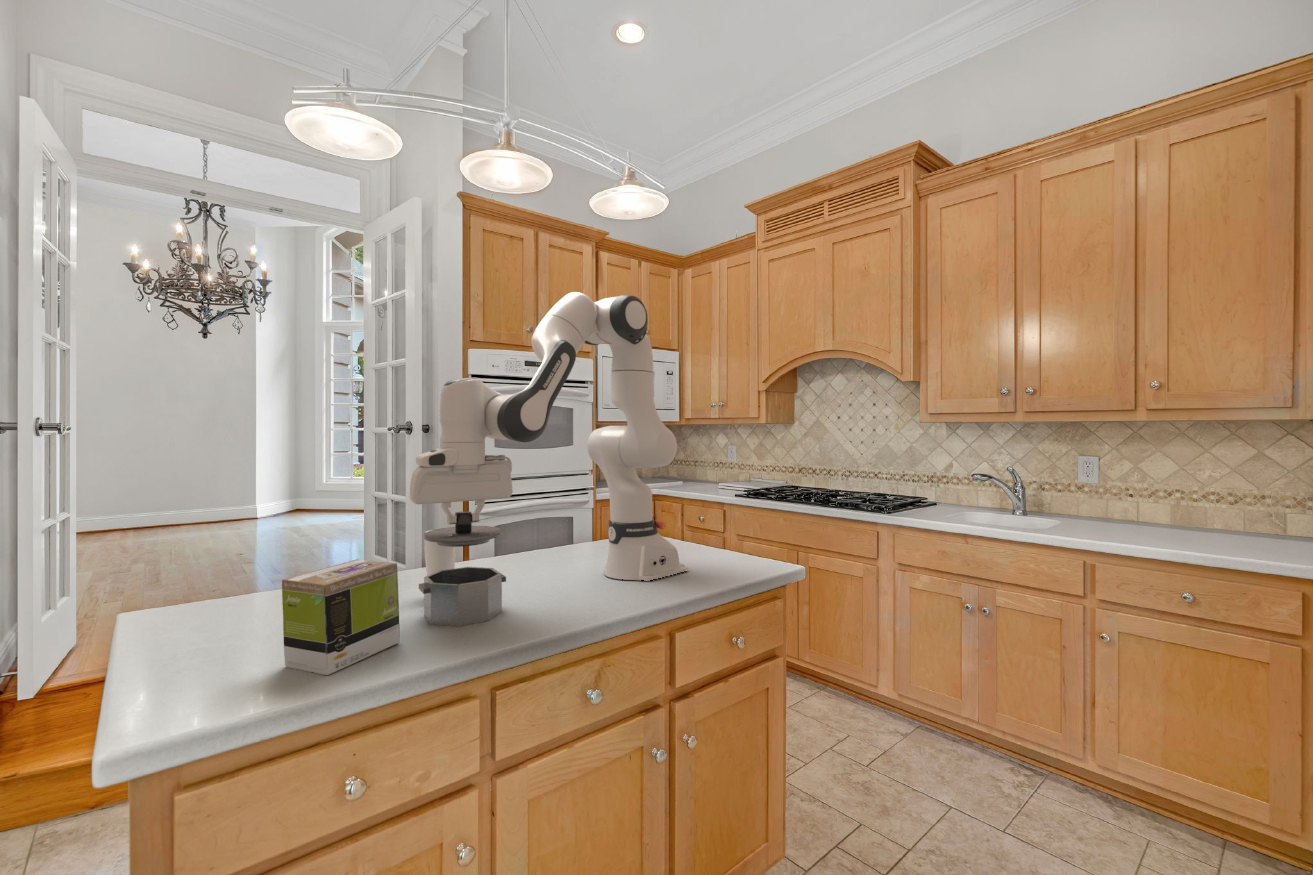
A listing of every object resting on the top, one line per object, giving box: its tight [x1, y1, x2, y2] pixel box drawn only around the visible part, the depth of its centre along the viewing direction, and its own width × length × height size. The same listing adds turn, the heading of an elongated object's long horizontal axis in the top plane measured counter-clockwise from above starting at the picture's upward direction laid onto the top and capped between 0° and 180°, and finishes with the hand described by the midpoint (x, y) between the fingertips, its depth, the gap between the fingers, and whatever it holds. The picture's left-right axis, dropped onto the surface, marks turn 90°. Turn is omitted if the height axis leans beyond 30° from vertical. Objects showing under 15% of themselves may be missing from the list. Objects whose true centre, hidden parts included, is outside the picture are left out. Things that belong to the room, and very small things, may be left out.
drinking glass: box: [423, 529, 457, 576], centre depth 134 cm, size 7×7×15 cm
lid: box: [423, 510, 502, 548], centre depth 122 cm, size 15×15×6 cm
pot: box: [418, 566, 507, 627], centre depth 122 cm, size 17×14×8 cm
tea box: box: [281, 559, 401, 676], centre depth 100 cm, size 15×10×15 cm
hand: (463, 522), depth 122 cm, fingers closed on lid, 3 cm apart
